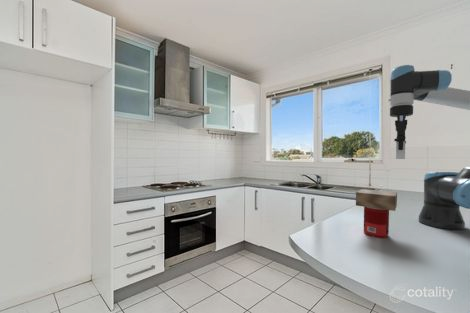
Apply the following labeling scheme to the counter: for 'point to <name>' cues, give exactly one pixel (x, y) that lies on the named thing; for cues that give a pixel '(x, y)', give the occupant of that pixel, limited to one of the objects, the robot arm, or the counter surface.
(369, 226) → the canned food
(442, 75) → the robot arm
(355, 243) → the counter surface
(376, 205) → the brown wooden block
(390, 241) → the counter surface
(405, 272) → the counter surface
